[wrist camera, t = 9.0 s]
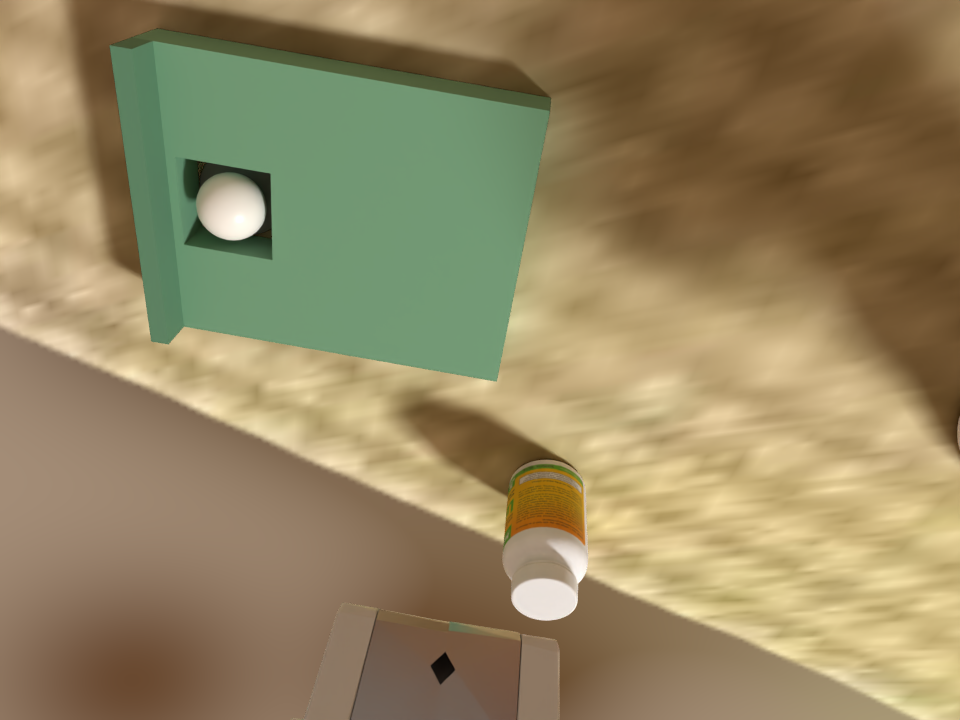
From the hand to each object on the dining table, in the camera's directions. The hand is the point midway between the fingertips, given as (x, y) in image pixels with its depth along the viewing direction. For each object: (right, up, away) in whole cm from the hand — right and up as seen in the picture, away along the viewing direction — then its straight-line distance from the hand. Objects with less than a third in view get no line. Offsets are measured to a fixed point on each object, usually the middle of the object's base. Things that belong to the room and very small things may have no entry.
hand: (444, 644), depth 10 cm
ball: (-13, +12, +28) cm, 34 cm away
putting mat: (-7, +12, +30) cm, 33 cm away
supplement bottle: (+5, -5, +40) cm, 41 cm away
